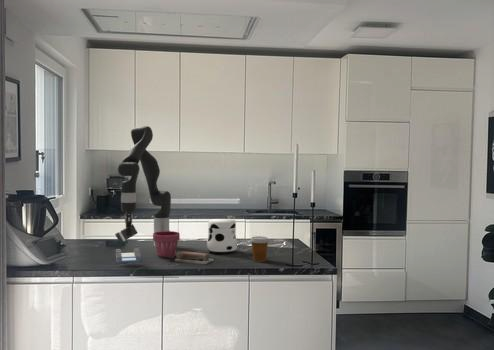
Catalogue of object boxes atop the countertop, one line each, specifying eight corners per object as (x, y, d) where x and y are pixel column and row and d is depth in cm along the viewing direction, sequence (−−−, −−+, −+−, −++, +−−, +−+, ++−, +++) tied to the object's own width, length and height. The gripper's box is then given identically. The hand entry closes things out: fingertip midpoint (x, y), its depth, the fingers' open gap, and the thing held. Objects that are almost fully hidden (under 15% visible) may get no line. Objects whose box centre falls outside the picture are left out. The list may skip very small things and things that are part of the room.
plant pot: (171, 260, 245) (171, 235, 245) (147, 258, 250) (147, 234, 249) (184, 255, 258) (184, 232, 258) (161, 253, 263) (161, 230, 263)
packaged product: (174, 252, 243) (183, 249, 252) (174, 262, 243) (183, 258, 253) (205, 255, 237) (214, 252, 246) (205, 265, 237) (213, 261, 246)
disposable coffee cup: (257, 263, 241) (258, 239, 240) (246, 259, 248) (247, 237, 248) (272, 261, 246) (272, 238, 246) (261, 257, 254) (261, 235, 253)
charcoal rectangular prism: (137, 232, 244) (132, 223, 243) (137, 233, 241) (132, 224, 240) (120, 242, 242) (115, 233, 241) (120, 243, 239) (115, 234, 238)
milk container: (243, 252, 269) (243, 220, 268) (221, 256, 256) (221, 223, 255) (222, 248, 280) (222, 217, 280) (200, 252, 268) (200, 220, 267)
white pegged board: (138, 254, 260) (138, 247, 260) (141, 262, 239) (141, 255, 239) (115, 255, 256) (115, 248, 256) (116, 264, 235) (116, 257, 235)
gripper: (137, 202, 235) (136, 237, 236) (135, 200, 249) (135, 232, 249) (121, 202, 233) (121, 237, 234) (120, 200, 246) (120, 233, 247)
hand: (128, 234), depth 241 cm, fingers closed on charcoal rectangular prism, 2 cm apart
